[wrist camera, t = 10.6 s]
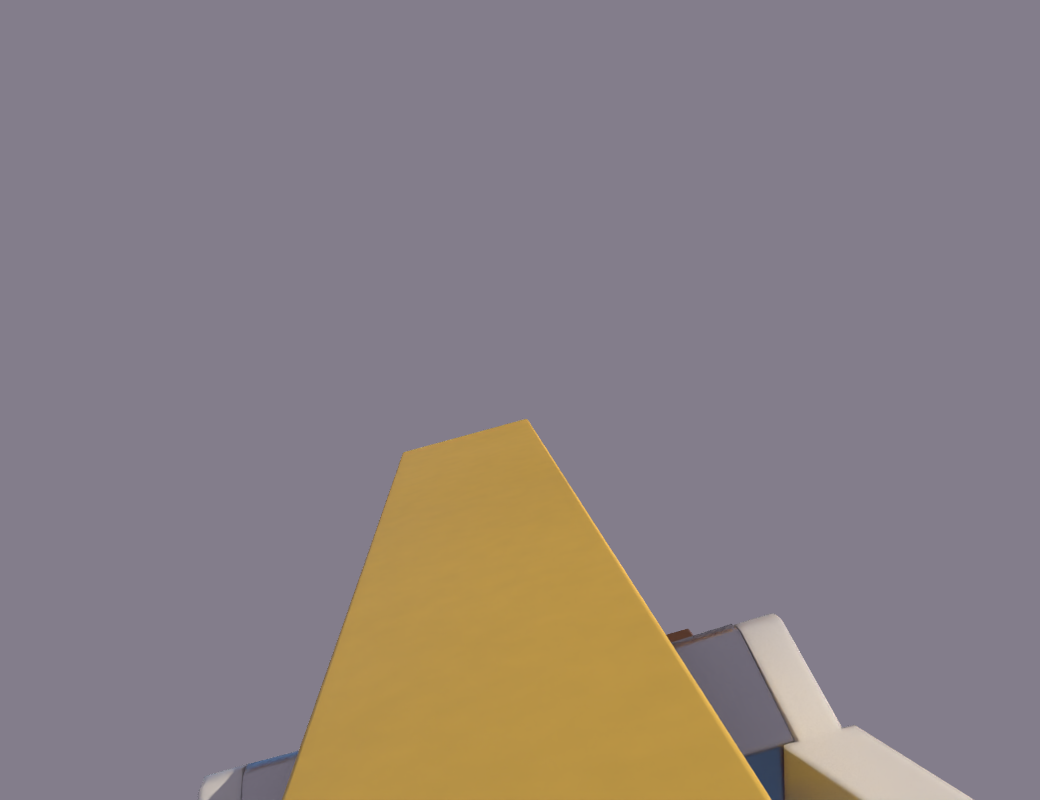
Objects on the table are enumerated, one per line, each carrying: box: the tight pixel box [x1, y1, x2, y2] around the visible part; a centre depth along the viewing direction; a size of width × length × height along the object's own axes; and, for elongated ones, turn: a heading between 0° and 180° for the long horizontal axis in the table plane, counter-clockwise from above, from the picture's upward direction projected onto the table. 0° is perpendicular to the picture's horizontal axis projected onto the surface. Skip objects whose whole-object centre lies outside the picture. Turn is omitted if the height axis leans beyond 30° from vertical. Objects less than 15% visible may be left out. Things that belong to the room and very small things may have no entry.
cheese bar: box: [282, 419, 772, 800], centre depth 17 cm, size 4×22×3 cm, turn 3°
